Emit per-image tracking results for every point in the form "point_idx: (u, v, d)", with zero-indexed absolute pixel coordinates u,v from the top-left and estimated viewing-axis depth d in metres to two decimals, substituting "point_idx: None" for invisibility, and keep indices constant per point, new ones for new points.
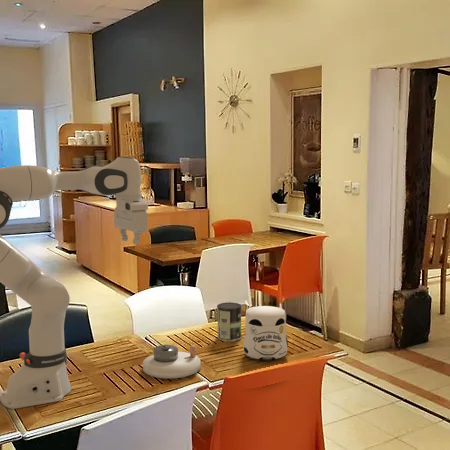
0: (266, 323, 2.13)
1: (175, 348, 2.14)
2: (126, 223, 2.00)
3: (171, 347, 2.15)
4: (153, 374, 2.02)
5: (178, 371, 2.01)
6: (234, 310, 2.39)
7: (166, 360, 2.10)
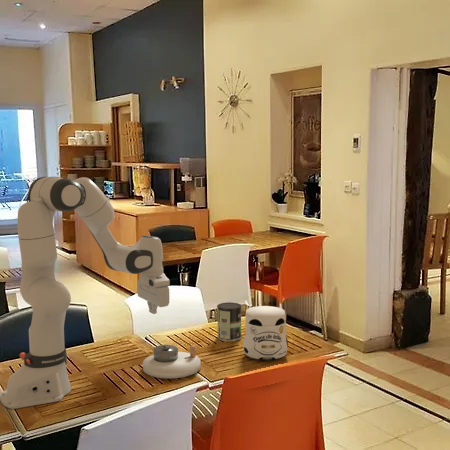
0: (266, 323, 2.13)
1: (175, 348, 2.14)
2: (149, 296, 2.17)
3: (171, 347, 2.15)
4: (153, 374, 2.02)
5: (178, 371, 2.01)
6: (234, 310, 2.39)
7: (166, 360, 2.10)
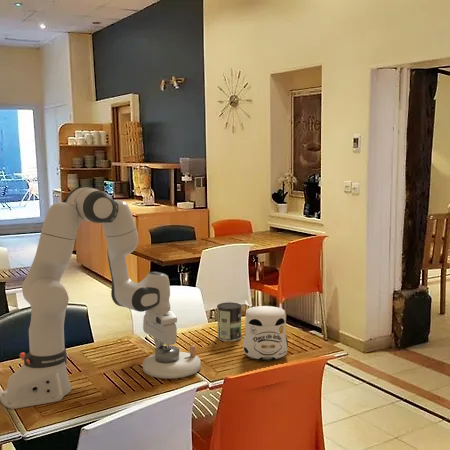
0: (266, 323, 2.13)
1: (176, 349, 2.13)
2: (156, 333, 2.15)
3: (172, 348, 2.15)
4: (153, 374, 2.02)
5: (178, 371, 2.01)
6: (234, 310, 2.39)
7: (167, 361, 2.09)
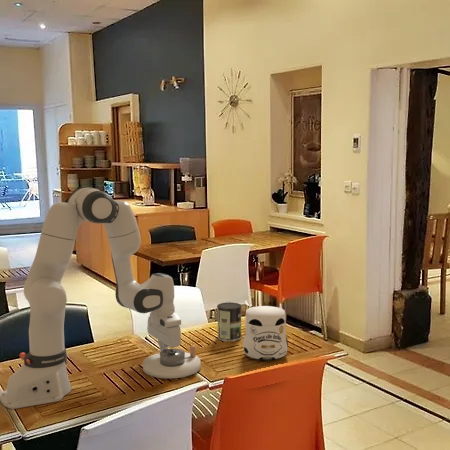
0: (266, 323, 2.13)
1: (182, 352, 2.10)
2: (160, 335, 2.12)
3: (178, 351, 2.11)
4: (153, 374, 2.02)
5: (178, 371, 2.01)
6: (234, 310, 2.39)
7: (173, 364, 2.06)
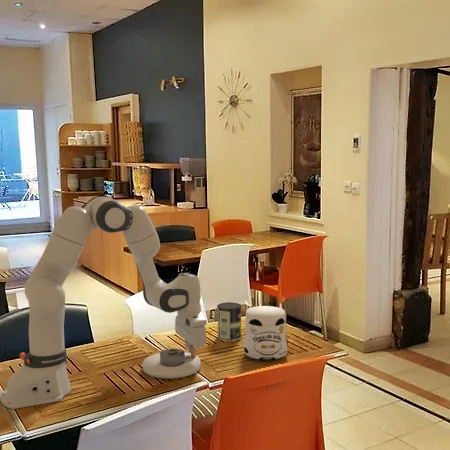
0: (266, 323, 2.13)
1: (182, 352, 2.10)
2: (186, 335, 2.14)
3: (178, 351, 2.11)
4: (152, 374, 2.02)
5: (177, 371, 2.01)
6: (234, 310, 2.39)
7: (172, 364, 2.06)
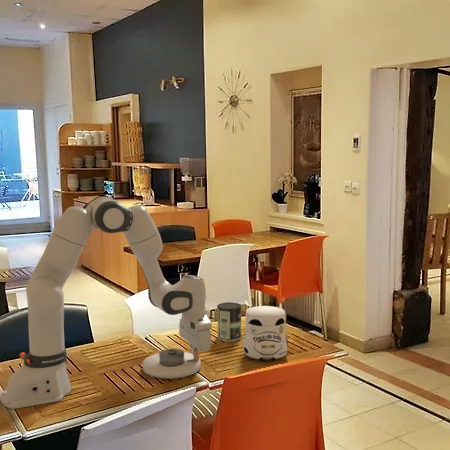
0: (266, 323, 2.13)
1: (180, 354, 2.08)
2: (191, 338, 2.11)
3: (178, 352, 2.10)
4: (144, 370, 2.06)
5: (164, 372, 2.01)
6: (234, 310, 2.39)
7: (166, 364, 2.06)
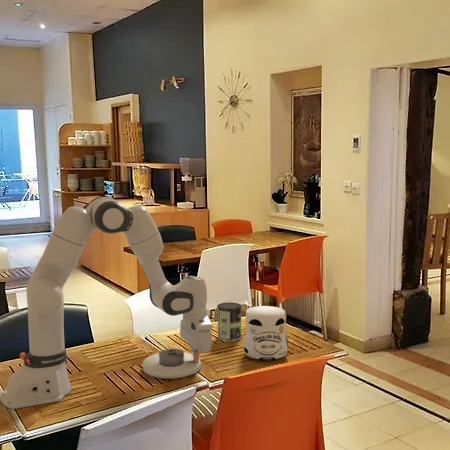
0: (266, 323, 2.13)
1: (179, 354, 2.08)
2: (191, 339, 2.09)
3: (178, 353, 2.10)
4: (143, 368, 2.07)
5: (160, 371, 2.01)
6: (234, 310, 2.39)
7: (164, 364, 2.06)
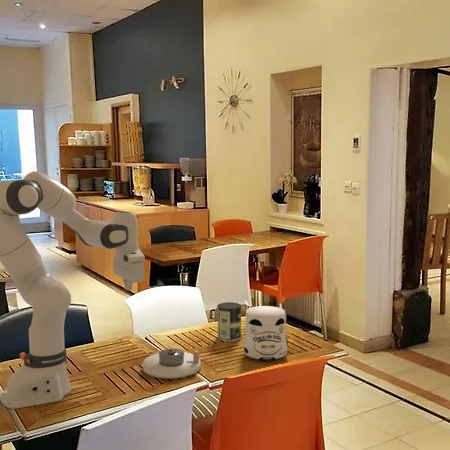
0: (266, 323, 2.13)
1: (179, 354, 2.08)
2: (124, 273, 2.15)
3: (178, 353, 2.10)
4: (143, 368, 2.07)
5: (160, 371, 2.01)
6: (234, 310, 2.39)
7: (164, 364, 2.06)
